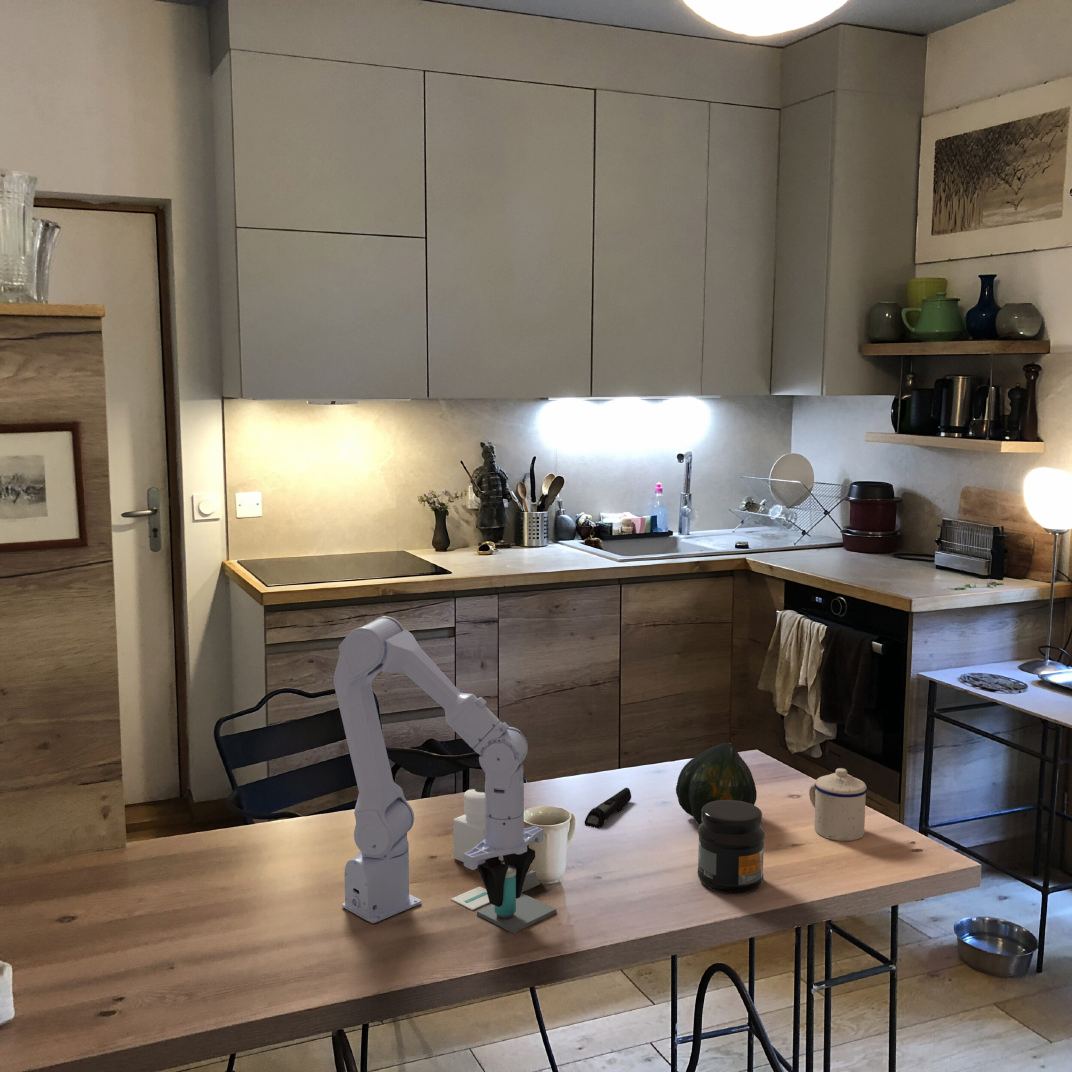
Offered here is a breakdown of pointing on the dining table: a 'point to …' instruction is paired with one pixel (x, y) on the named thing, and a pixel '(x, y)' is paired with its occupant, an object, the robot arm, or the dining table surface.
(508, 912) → the marker
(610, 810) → the electric trimmer
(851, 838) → the teacup with lid
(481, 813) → the medicine bottle
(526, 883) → the button box
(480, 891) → the card
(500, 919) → the board
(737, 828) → the supplement container
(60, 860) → the dining table surface
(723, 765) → the squash
